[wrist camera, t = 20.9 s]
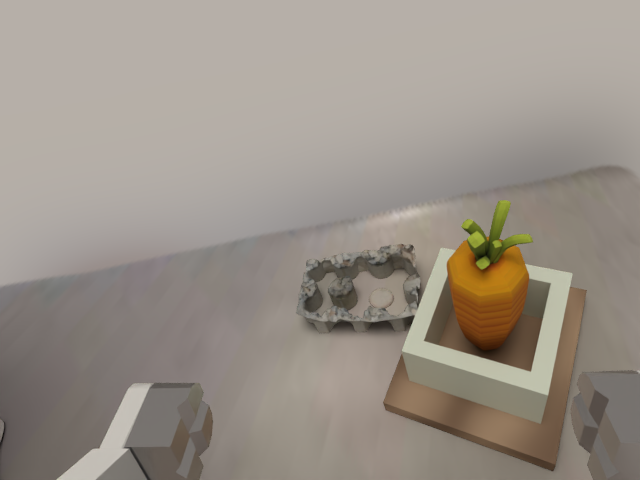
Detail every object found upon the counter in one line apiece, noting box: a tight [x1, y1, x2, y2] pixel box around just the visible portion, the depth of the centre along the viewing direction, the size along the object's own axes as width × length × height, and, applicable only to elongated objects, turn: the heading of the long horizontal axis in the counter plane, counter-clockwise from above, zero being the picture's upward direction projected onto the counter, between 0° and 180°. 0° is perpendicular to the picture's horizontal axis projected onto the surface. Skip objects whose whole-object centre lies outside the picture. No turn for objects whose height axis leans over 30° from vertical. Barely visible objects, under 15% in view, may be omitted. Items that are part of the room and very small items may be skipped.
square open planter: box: [402, 248, 573, 424], centre depth 36 cm, size 9×9×5 cm
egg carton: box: [296, 244, 420, 333], centre depth 44 cm, size 11×8×4 cm
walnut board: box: [383, 287, 587, 471], centre depth 39 cm, size 12×14×2 cm
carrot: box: [447, 200, 533, 350], centre depth 32 cm, size 5×5×15 cm
